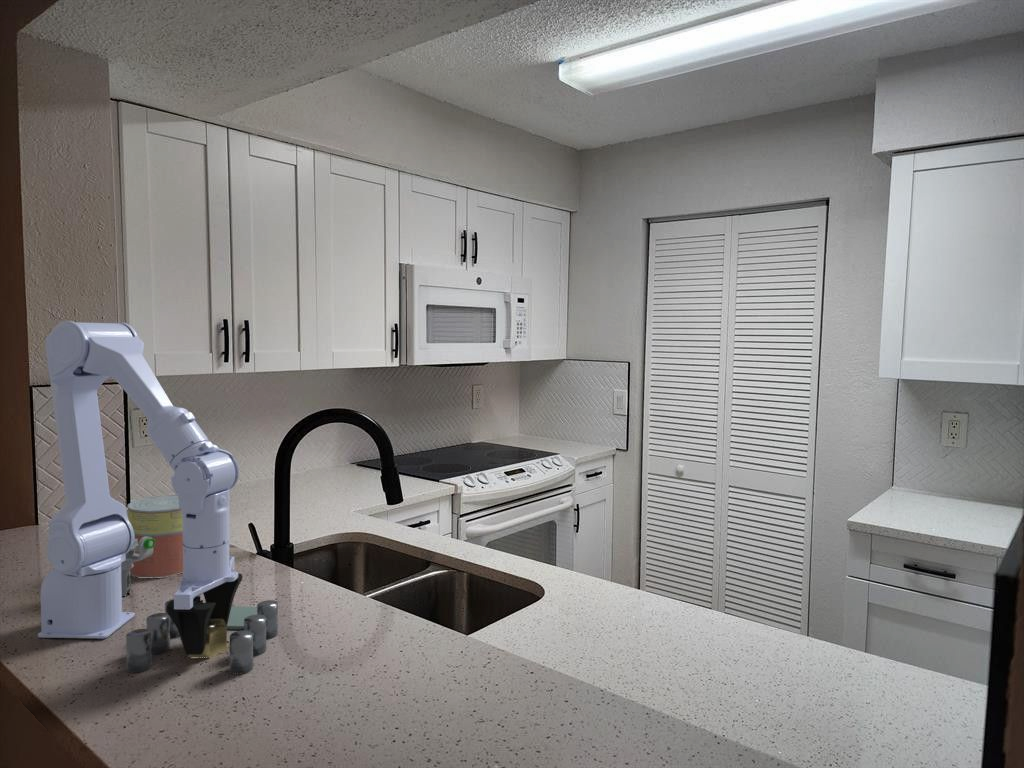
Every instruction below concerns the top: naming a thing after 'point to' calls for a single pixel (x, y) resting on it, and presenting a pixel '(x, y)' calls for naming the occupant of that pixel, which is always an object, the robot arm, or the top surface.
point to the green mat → (239, 616)
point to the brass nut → (215, 638)
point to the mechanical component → (135, 559)
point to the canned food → (158, 535)
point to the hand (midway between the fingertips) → (206, 640)
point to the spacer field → (164, 627)
